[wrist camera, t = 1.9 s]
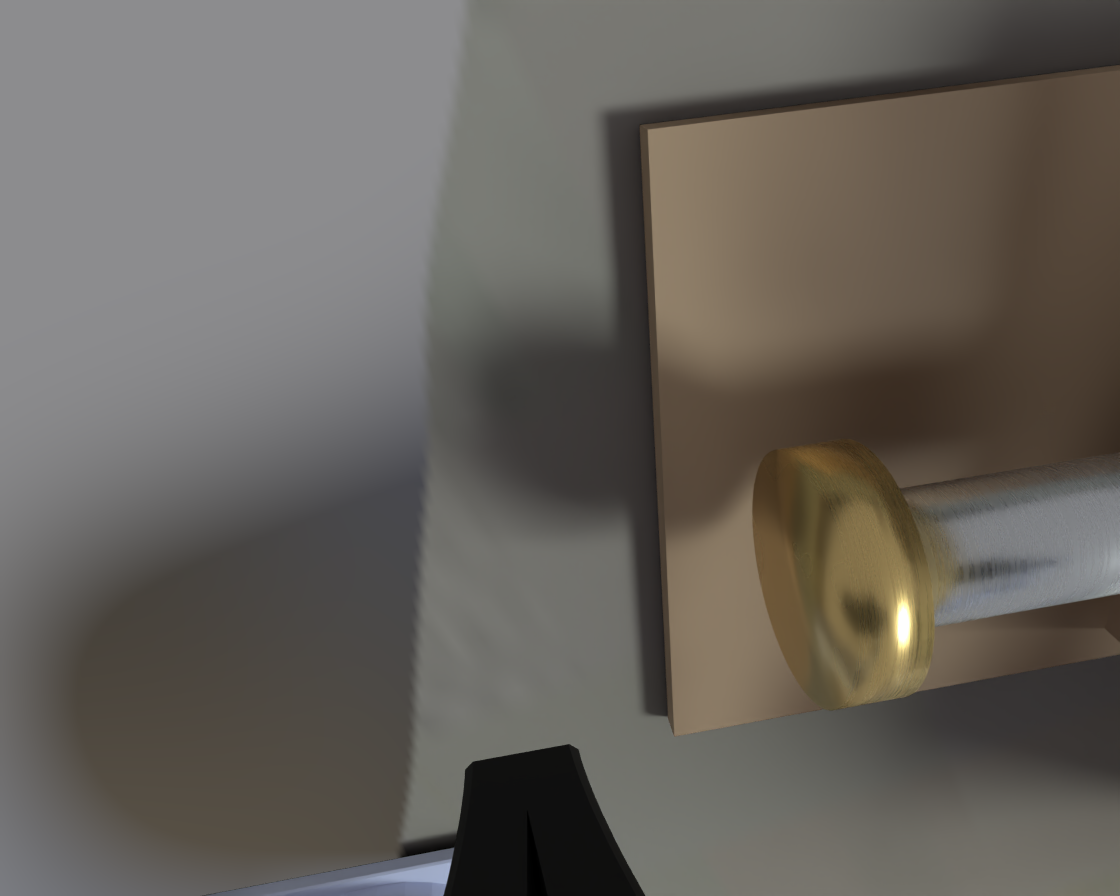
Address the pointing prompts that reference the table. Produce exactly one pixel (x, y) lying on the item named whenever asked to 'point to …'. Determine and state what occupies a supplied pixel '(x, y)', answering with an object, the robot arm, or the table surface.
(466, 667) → the table surface
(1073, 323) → the bearing block
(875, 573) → the shaft
